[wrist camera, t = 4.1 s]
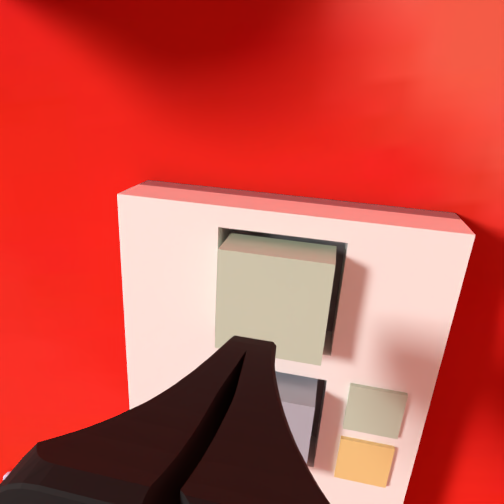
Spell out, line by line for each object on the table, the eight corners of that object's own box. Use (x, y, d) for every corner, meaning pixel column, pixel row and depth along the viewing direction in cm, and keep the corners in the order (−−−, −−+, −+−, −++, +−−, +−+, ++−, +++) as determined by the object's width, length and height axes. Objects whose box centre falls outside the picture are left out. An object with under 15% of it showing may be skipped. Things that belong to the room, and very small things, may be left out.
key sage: (227, 323, 19) (214, 347, 18) (231, 233, 18) (217, 249, 16) (323, 338, 19) (320, 365, 17) (336, 246, 17) (335, 264, 15)
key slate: (222, 432, 22) (210, 463, 20) (225, 361, 20) (213, 388, 18) (307, 450, 21) (303, 484, 19) (317, 377, 19) (315, 407, 18)
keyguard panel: (157, 482, 28) (134, 528, 25) (148, 180, 20) (114, 194, 17) (376, 533, 25) (380, 591, 22) (455, 213, 18) (477, 236, 15)
